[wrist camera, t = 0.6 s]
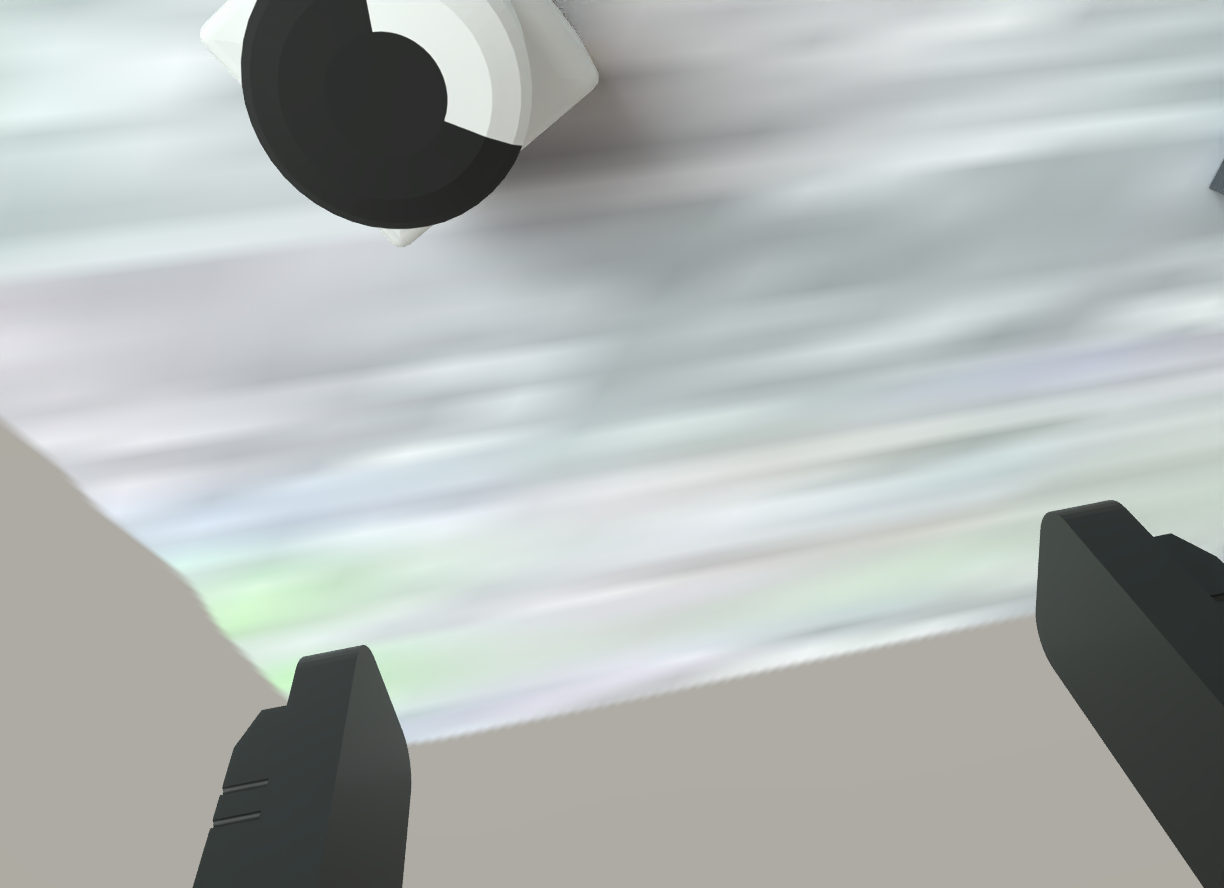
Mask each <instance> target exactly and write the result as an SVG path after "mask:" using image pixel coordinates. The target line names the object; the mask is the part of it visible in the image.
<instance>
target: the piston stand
mask: <svg viewBox="0 0 1224 888" xmlns="http://www.w3.org/2000/svg"><path fill="white" fill-rule="evenodd" d="M1209 188H1210V189H1213V190H1215V191H1217V192H1220V193H1222V194H1224V160H1223V162H1222V164H1221V166H1220V168H1219V170H1218V172H1217V174H1216V176H1215V178H1214V180H1213V182H1212V184H1211V185H1210V187H1209Z"/></svg>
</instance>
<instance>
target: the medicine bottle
mask: <svg viewBox="0 0 1224 888" xmlns="http://www.w3.org/2000/svg"><path fill="white" fill-rule="evenodd" d="M200 34H201V41H202V43H203V45H204V46H205V48H206V49H207V50H208V51H209V52H210V53H211V54H212V55H213V56H214V57H215V58H216V59H217V60H218V61H219V62H220V63H221V64H222V65H223V66H224V68H225V69H226V70H227V71H228V72H229V73H230V74H231V75H232V76H233V77H234V78H235V79H236V80H237V81H238V82H239V83H240V84H241V85H242V88H243V94H244V100H245V105H246V108H247V111H248V114H249V118H250V121H251V124H252V126H253V128H254V131H255V133H256V135H257V137H258V139H259V141H260V143H261V145H262V147H263V148H264V150H265V152H266V153H267V155H268V156H269V158H270V160H271V161H272V162H273V164H274V165H275V166H276V167H277V169H278V170H279V171H280V172H281V173H282V175H283V176H284V177H285V178H286V179H287V180H288V181H289V182H290V183H291V184H292V185H293V186H294V187H295V188H296V189H297V190H298V191H299V192H301V193H302V194H303V195H305V196H306V197H307V198H309V199H310V200H311V201H313V202H314V203H315V204H317V205H319V206H321V207H322V208H324V209H326V210H328V211H329V212H331V213H333V214H335V215H337V216H340V217H342V218H345V219H347V220H350V221H352V222H356V223H359V224H363V225H367V226H371V227H377V228H378V229H379V230H380V231H381V232H382V233H383V234H384V235H385V236H386V237H387V238H388V239H389V241H390V242H391V243H393V244H394V245H396V246H397V247H405V246H407V245H410V244H411V243H413V242H414V241H415V240H416V239H417V238H418V237H420V236H421V235H422V234H423V233H424V232H426V231H427V230H428V229H429V228H430V227H431V226H433V225H435V224H438V223H442V222H445V221H447V220H450V219H452V218H454V217H457V216H459V215H461V214H463V213H465V212H466V211H468V210H469V209H471V208H473V207H474V206H476V205H477V204H479V203H480V202H481V201H482V200H483V199H485V198H486V197H487V196H488V195H489V194H491V193H492V192H493V190H494V189H495V188H496V187H497V186H498V185H499V184H500V183H501V181H502V180H503V179H504V178H505V176H506V175H507V173H508V172H509V170H510V169H511V167H512V166H513V164H514V163H515V161H516V159H517V156H518V154H519V152H520V151H521V150H522V149H524V148H525V147H526V146H527V145H528V144H529V143H531V142H532V141H533V140H534V139H535V138H537V137H538V136H539V135H540V134H541V133H542V132H544V131H545V130H546V129H547V128H548V127H550V126H551V125H552V124H553V123H554V122H555V121H557V120H558V119H559V118H560V117H561V116H562V115H564V114H565V113H566V112H567V111H568V110H570V109H571V108H572V107H573V106H574V105H575V104H577V103H578V102H579V101H580V100H581V99H583V98H584V97H585V96H586V95H587V94H588V93H590V92H591V91H592V90H593V89H594V88H595V86H596V85H597V84H598V79H599V74H598V71H597V69H596V67H595V65H594V63H593V61H592V59H591V58H590V56H589V54H588V52H587V50H586V49H585V47H584V45H583V43H582V41H581V39H580V38H579V36H578V34H577V33H576V31H575V30H574V29H573V28H572V26H571V25H570V24H569V22H568V21H567V20H566V18H565V17H564V16H563V14H562V13H561V12H560V10H559V9H558V8H557V6H556V5H555V4H554V2H553V1H552V0H228V1H227V2H226V3H225V4H224V5H223V6H222V7H221V8H220V9H219V10H218V11H217V12H216V13H215V14H214V15H213V16H212V17H211V18H210V19H209V20H208V21H207V22H206V23H205V24H204V25H203V27H202V29H201V31H200Z"/></svg>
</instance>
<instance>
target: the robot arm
mask: <svg viewBox="0 0 1224 888" xmlns="http://www.w3.org/2000/svg"><path fill="white" fill-rule="evenodd" d="M1036 622H1037V629H1038V634H1039V637H1040V641H1041V644H1042V647H1043V650H1044V652H1045V654H1046V657H1047V658H1048V660H1049V662H1050V664H1051V666H1052V667H1053V669H1054V670H1055V672H1056V673H1057V674H1058V676H1059V677H1060V679H1061V680H1062V682H1063V683H1064V685H1065V686H1066V688H1067V689H1068V691H1069V692H1070V693H1071V695H1072V696H1073V698H1074V699H1075V701H1076V702H1077V704H1078V705H1079V707H1080V708H1081V709H1082V711H1083V712H1084V714H1085V715H1086V717H1087V718H1088V720H1089V721H1090V723H1091V724H1092V726H1093V727H1094V728H1095V730H1096V731H1097V733H1098V734H1099V736H1100V737H1101V738H1102V740H1103V742H1104V743H1105V744H1106V746H1107V747H1108V749H1109V750H1110V752H1111V753H1112V755H1113V756H1114V758H1115V759H1116V760H1117V762H1118V763H1119V765H1120V766H1121V768H1122V769H1123V771H1124V772H1125V774H1126V775H1127V776H1128V778H1129V779H1130V781H1131V782H1132V784H1133V785H1134V787H1135V788H1136V790H1137V791H1138V793H1139V794H1140V795H1141V797H1142V798H1143V800H1144V801H1145V803H1146V804H1147V806H1148V807H1149V809H1150V810H1151V811H1152V813H1153V814H1154V816H1155V817H1156V819H1157V820H1158V822H1159V823H1160V825H1161V826H1162V827H1163V829H1164V830H1165V832H1166V833H1167V834H1168V836H1169V838H1170V839H1171V840H1172V842H1173V843H1174V845H1175V846H1176V848H1177V849H1178V851H1179V852H1180V854H1181V855H1182V857H1183V858H1184V860H1185V861H1186V862H1187V864H1188V865H1189V867H1190V868H1191V870H1192V871H1193V873H1194V874H1195V876H1196V877H1197V878H1198V880H1199V881H1200V883H1201V884H1202V886H1203V887H1204V888H1224V563H1223V562H1222V561H1221V560H1219V559H1218V558H1217V557H1216V556H1214V555H1212V554H1210V553H1208V552H1206V551H1204V550H1202V549H1201V548H1199V547H1197V546H1195V545H1193V544H1191V543H1189V542H1187V541H1185V540H1183V539H1181V538H1179V537H1177V536H1175V535H1173V534H1166V535H1161V536H1156V537H1153V536H1152V535H1151V534H1150V533H1149V532H1148V531H1147V530H1146V529H1145V528H1144V527H1143V526H1142V525H1141V524H1140V523H1139V522H1138V521H1137V519H1136V518H1135V517H1134V516H1133V515H1132V514H1131V513H1130V512H1129V511H1128V510H1127V509H1126V508H1125V507H1124V506H1123V505H1122V504H1120V503H1119V502H1117V501H1114V500H1108V501H1103V502H1098V503H1093V504H1088V505H1082V506H1077V507H1072V508H1067V509H1062V510H1057V511H1052V512H1048V513H1046V515H1045V516H1044V517H1043V520H1042V523H1041V530H1040V546H1039V563H1038V580H1037V597H1036ZM222 788H223V795H220V797H219V800H218V804H217V807H216V810H215V814H214V817H213V823H214V827H213V828H211V829H210V831H209V834H208V838H207V841H206V845H205V848H204V851H203V854H202V858H201V861H200V865H199V868H198V871H197V875H196V878H195V882H194V885H193V888H402V883H403V872H404V860H405V849H406V839H407V827H408V817H409V807H410V795H411V768H410V760H409V753H408V748H407V744H406V740H405V737H404V734H403V731H402V728H401V726H400V723H399V721H398V718H397V715H396V713H395V710H394V708H393V705H392V702H391V700H390V697H389V695H388V692H387V690H386V687H385V684H384V682H383V679H382V677H381V674H380V671H379V669H378V666H377V664H376V661H375V659H374V656H373V654H372V652H371V650H370V649H369V648H368V647H367V646H366V645H361V646H356V647H351V648H346V649H341V650H336V651H330V652H325V653H320V654H315V655H310V656H305V657H302V658H301V659H300V660H299V662H298V664H297V667H296V671H295V675H294V679H293V683H292V687H291V691H290V695H289V699H288V703H287V706H281V707H276V708H271V709H266V710H262V711H261V712H260V713H259V715H258V716H257V717H256V719H255V720H254V721H253V723H252V724H251V726H250V727H249V728H248V730H247V731H246V732H245V734H244V735H243V736H242V738H241V739H240V740H239V742H238V743H237V745H236V746H235V747H234V750H233V753H232V756H231V759H230V763H229V767H228V770H227V773H226V777H225V780H224V783H223V787H222Z"/></svg>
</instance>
